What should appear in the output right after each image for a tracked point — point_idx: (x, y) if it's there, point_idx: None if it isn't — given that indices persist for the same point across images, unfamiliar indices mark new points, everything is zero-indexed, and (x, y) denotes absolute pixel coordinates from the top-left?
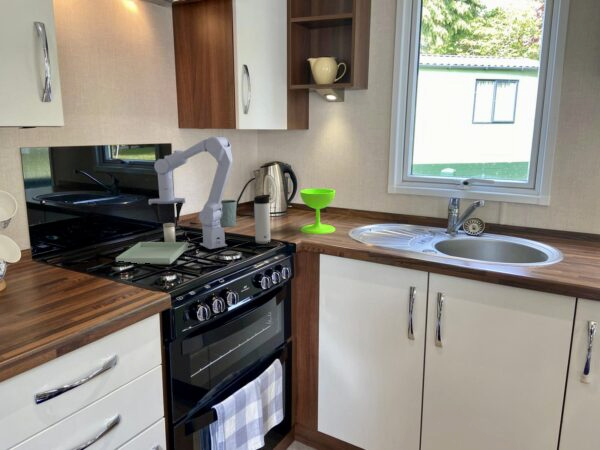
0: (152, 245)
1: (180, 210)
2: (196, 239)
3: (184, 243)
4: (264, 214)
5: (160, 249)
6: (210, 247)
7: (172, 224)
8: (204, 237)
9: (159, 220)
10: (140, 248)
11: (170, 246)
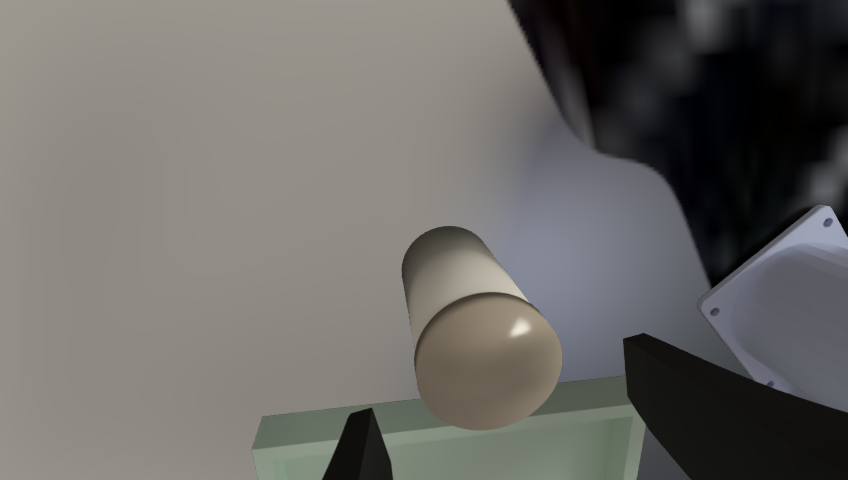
0: None
1: (817, 422)
2: (648, 140)
3: (620, 413)
4: None
5: (457, 469)
6: (779, 389)
7: (544, 379)
8: (799, 389)
9: (392, 476)
10: (301, 472)
11: None
